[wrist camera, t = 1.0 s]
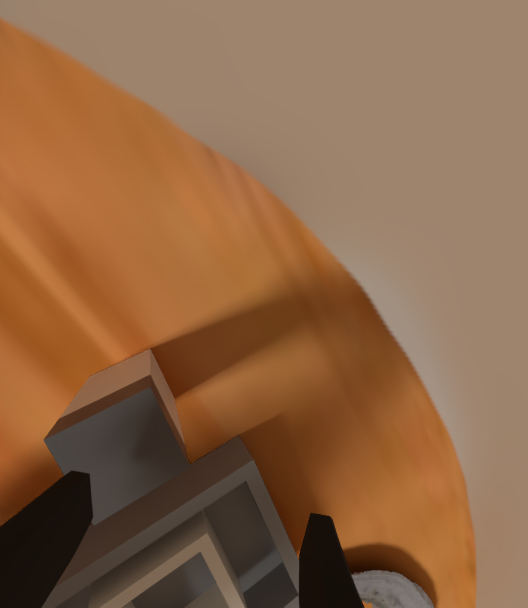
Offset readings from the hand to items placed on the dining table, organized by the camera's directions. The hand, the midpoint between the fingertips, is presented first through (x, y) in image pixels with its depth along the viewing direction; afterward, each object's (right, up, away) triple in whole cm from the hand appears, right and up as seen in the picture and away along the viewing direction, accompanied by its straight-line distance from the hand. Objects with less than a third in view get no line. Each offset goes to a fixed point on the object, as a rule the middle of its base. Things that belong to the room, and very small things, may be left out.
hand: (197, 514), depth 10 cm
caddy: (-5, -12, +12) cm, 18 cm away
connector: (-7, +1, +11) cm, 13 cm away
